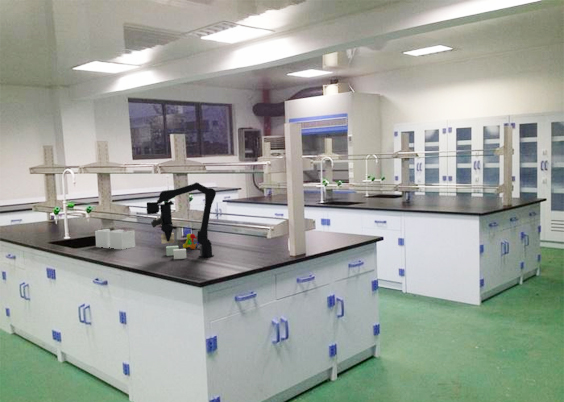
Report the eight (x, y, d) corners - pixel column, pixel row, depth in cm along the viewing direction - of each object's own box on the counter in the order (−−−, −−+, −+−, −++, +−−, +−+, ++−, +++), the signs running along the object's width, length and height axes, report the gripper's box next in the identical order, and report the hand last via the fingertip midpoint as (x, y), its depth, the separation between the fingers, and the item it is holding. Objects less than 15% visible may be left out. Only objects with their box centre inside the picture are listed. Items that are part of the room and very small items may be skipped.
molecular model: (197, 252, 320) (206, 240, 310) (185, 257, 313) (194, 245, 303) (188, 238, 322) (196, 226, 312) (176, 243, 315) (184, 231, 305)
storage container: (96, 247, 328) (95, 230, 327) (109, 244, 337) (108, 228, 336) (122, 249, 315) (121, 232, 314) (135, 246, 324) (134, 230, 323)
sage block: (178, 253, 295) (178, 245, 294) (178, 255, 291) (178, 246, 290) (166, 254, 293) (166, 246, 293) (166, 256, 289) (166, 247, 289)
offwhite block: (186, 257, 284) (185, 248, 284) (186, 258, 280) (186, 249, 280) (173, 258, 282) (173, 249, 282) (173, 259, 279) (173, 250, 278)
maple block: (174, 241, 281) (173, 232, 280) (174, 242, 277) (173, 233, 276) (161, 242, 279) (161, 233, 279) (161, 243, 275) (161, 234, 275)
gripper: (151, 212, 284) (153, 239, 285) (150, 216, 266) (152, 244, 267) (171, 211, 286) (173, 237, 288) (171, 214, 268) (173, 242, 269)
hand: (168, 240), depth 278 cm, fingers closed on maple block, 4 cm apart
